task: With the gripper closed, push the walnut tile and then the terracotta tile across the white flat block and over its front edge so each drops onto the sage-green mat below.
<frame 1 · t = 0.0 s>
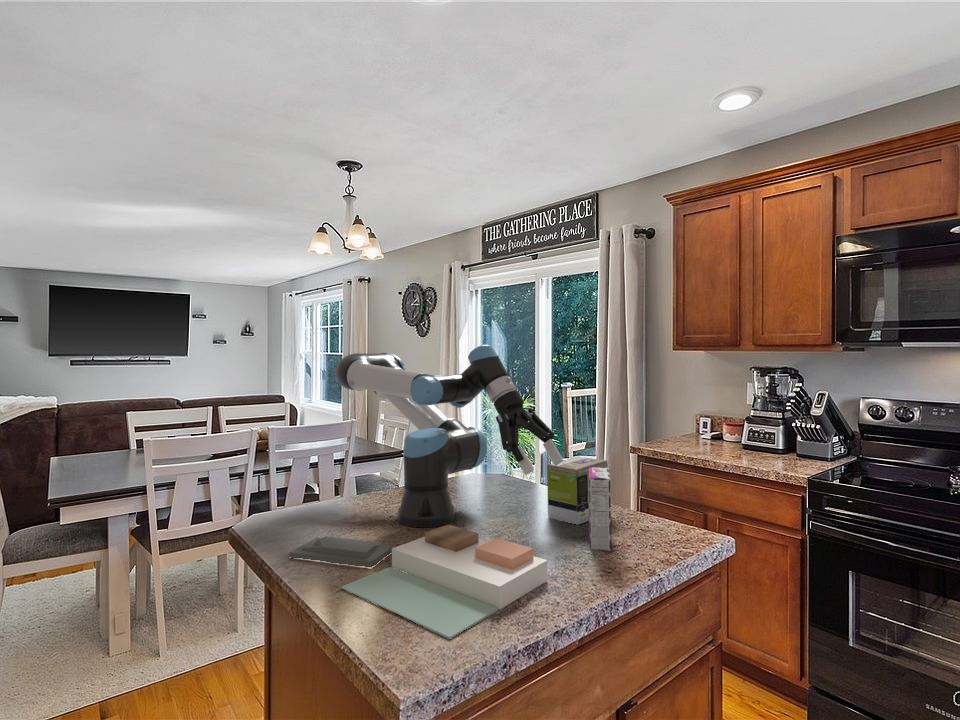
hand: (545, 467, 134), 15 cm above the counter, tool tilted 35°, fingers open, 13 cm apart
tea box: (578, 516, 145), on the counter
white flat block: (467, 574, 106), on the counter
soap mold: (342, 559, 117), on the counter
walnut tile: (451, 542, 113), point 4 cm above the counter, touching white flat block
mat: (415, 599, 96), on the counter
candy bar box: (599, 543, 124), on the counter
terracotta tile: (504, 558, 104), point 4 cm above the counter, touching white flat block
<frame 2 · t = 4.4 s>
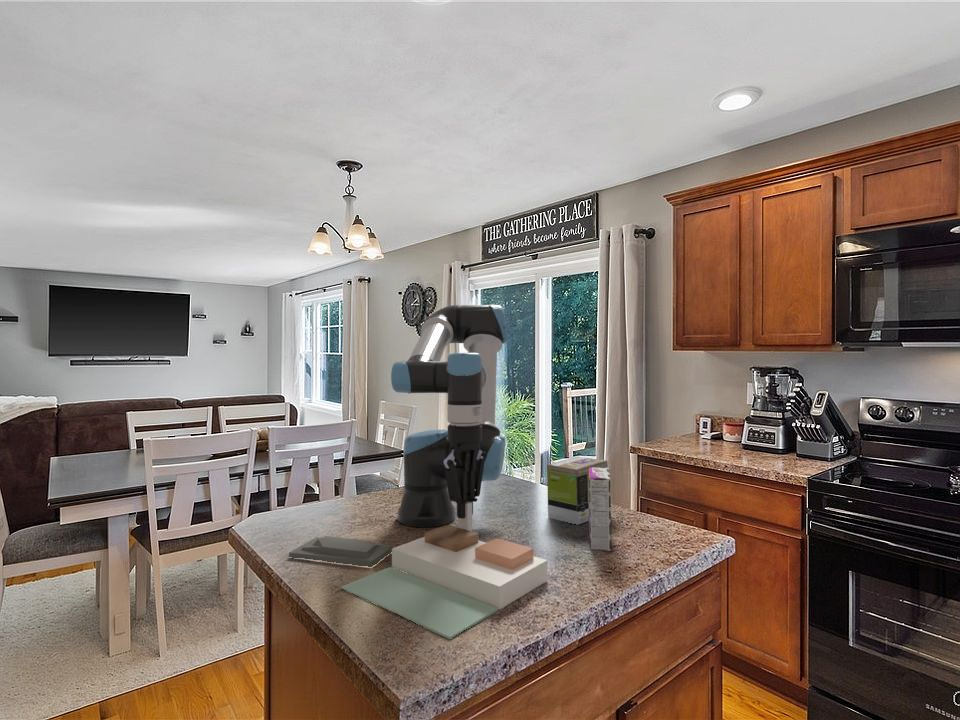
hand: (465, 531, 116), 5 cm above the counter, tool pointing down, fingers closed
walnut tile: (451, 542, 113), point 4 cm above the counter, touching white flat block, gripper
everything else where it was.
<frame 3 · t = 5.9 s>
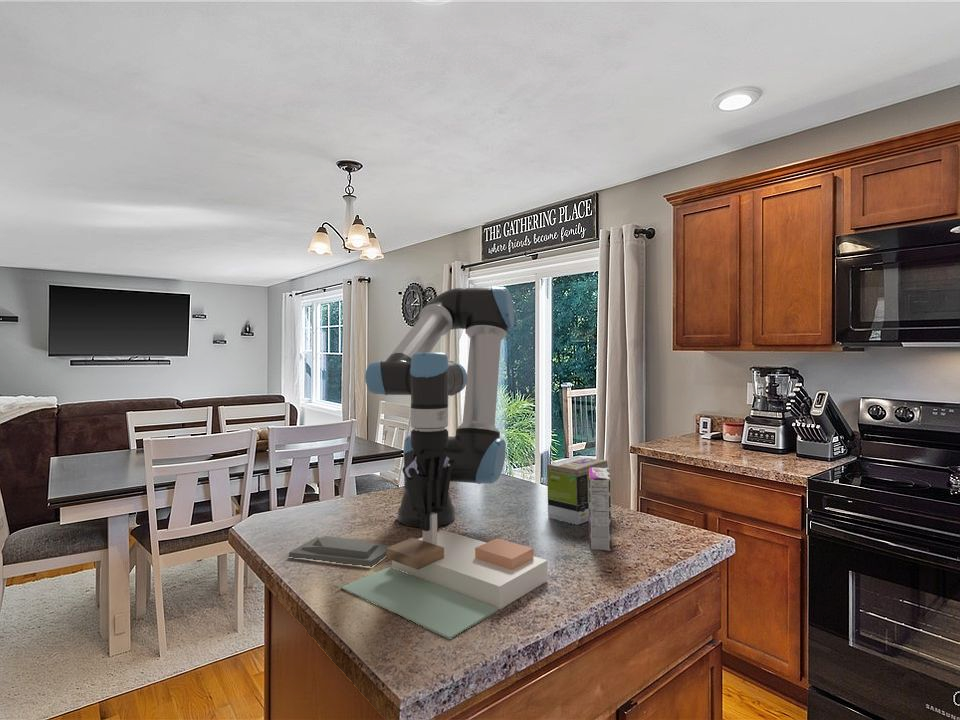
hand: (429, 545, 108), 5 cm above the counter, tool pointing down, fingers closed
walnut tile: (415, 557, 105), point 4 cm above the counter, touching white flat block, gripper
everything else where it was.
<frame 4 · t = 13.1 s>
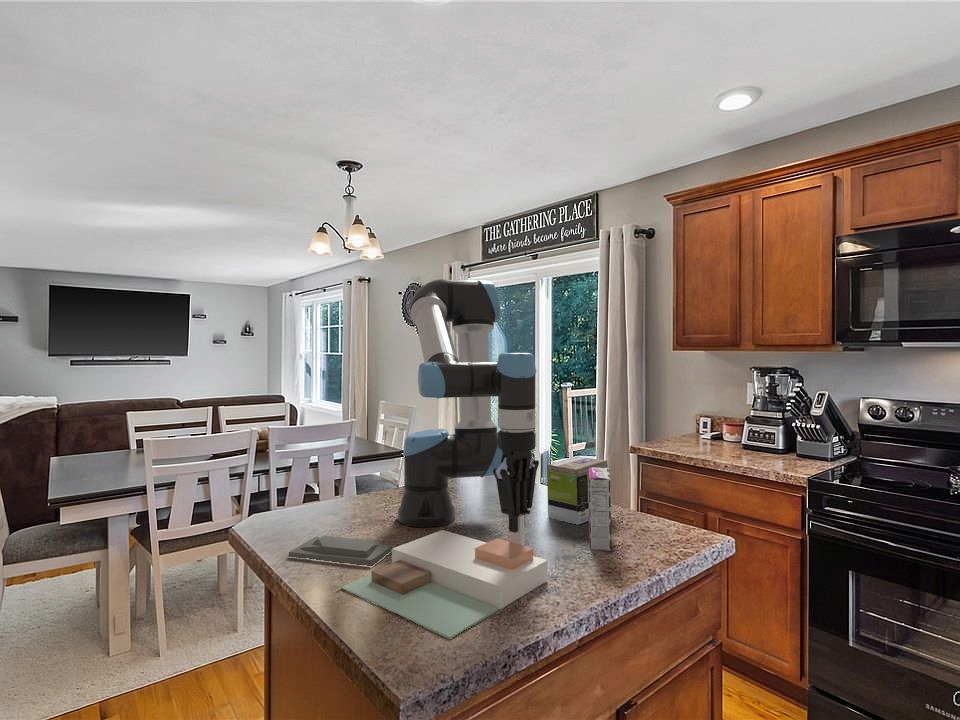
hand: (517, 546, 107), 5 cm above the counter, tool pointing down, fingers closed
walnut tile: (400, 581, 102), resting on mat
terracotta tile: (504, 558, 104), point 4 cm above the counter, touching white flat block, gripper
everything else where it was.
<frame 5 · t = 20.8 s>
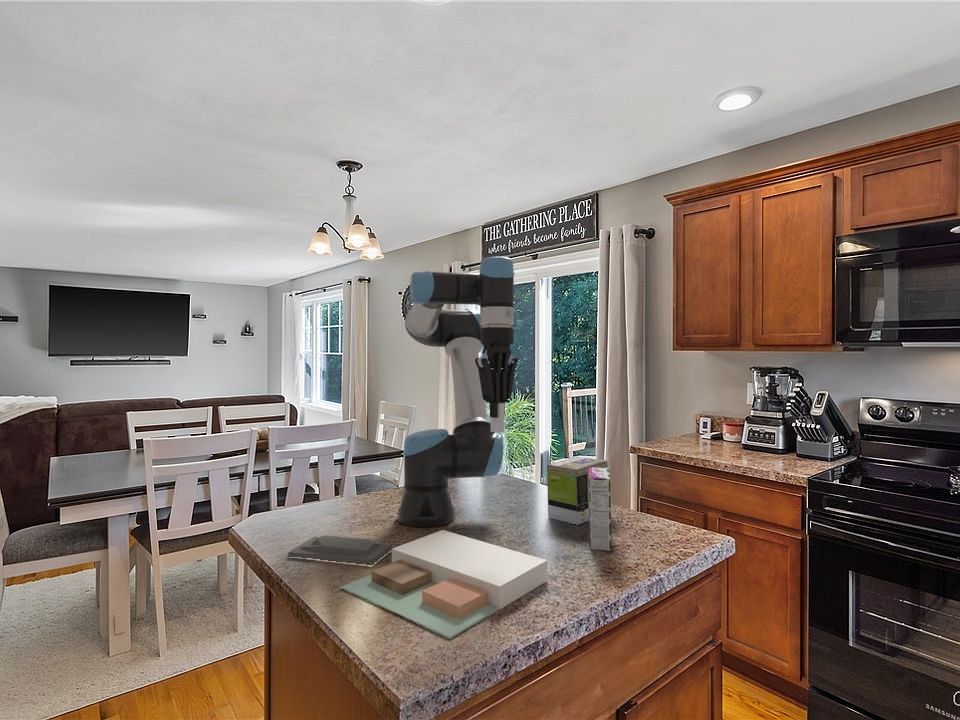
hand: (497, 431, 120), 26 cm above the counter, tool pointing down, fingers closed
terracotta tile: (454, 602, 93), resting on mat
everything else where it was.
at the end: walnut tile inside the target area (7.4 cm from its centre), resting on mat; terracotta tile inside the target area (7.4 cm from its centre), resting on mat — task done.
